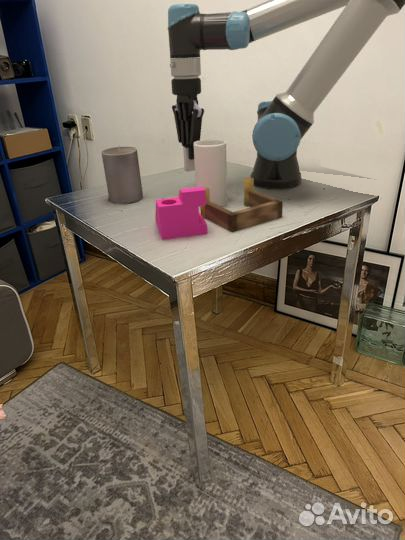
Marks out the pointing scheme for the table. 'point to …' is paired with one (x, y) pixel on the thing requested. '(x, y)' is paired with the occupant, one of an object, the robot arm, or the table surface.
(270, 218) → the bay
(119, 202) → the pillar candle
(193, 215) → the bracket
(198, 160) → the cup
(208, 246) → the table surface
